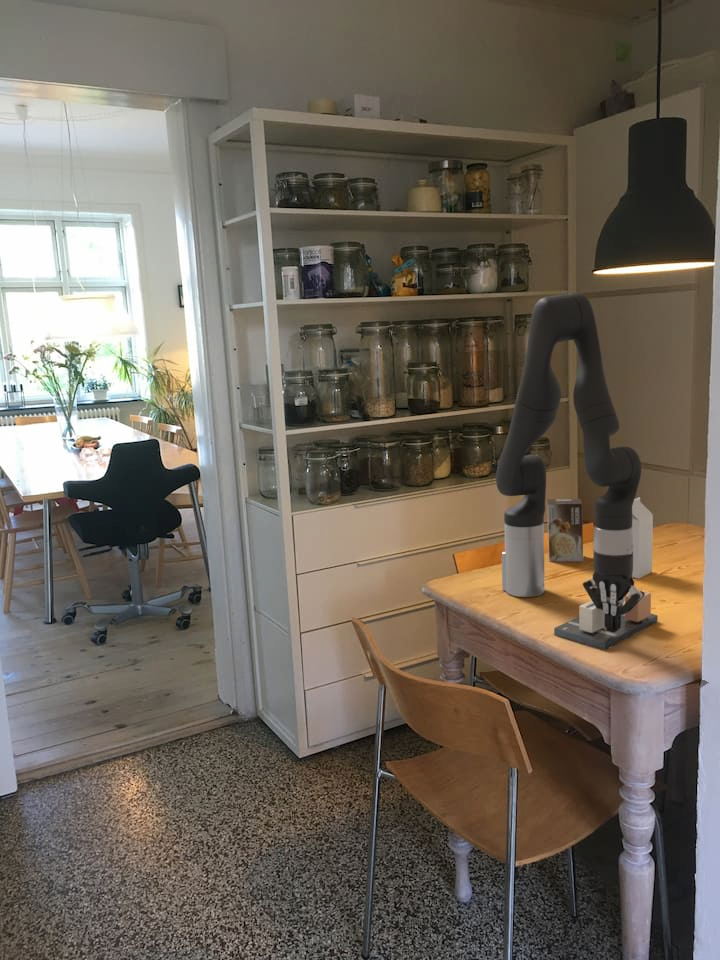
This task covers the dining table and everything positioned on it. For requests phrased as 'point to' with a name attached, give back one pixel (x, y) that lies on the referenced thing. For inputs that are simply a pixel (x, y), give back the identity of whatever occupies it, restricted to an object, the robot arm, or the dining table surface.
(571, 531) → the coffee box
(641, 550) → the milk carton
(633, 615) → the fader terracotta
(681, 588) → the dining table surface
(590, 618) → the block
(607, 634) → the console board
